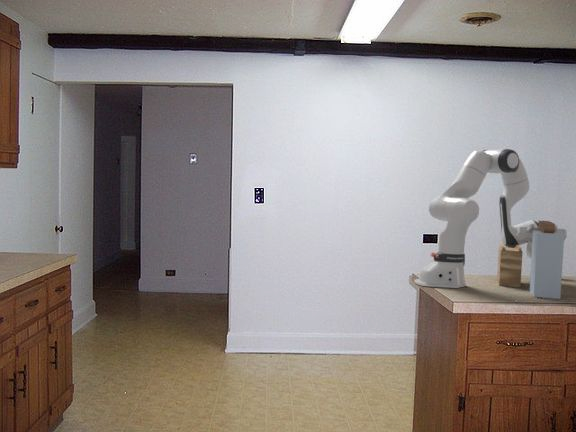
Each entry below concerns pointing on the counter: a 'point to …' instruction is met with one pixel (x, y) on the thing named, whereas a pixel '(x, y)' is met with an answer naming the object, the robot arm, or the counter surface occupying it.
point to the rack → (509, 266)
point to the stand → (546, 264)
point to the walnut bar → (546, 227)
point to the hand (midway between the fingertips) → (543, 226)
